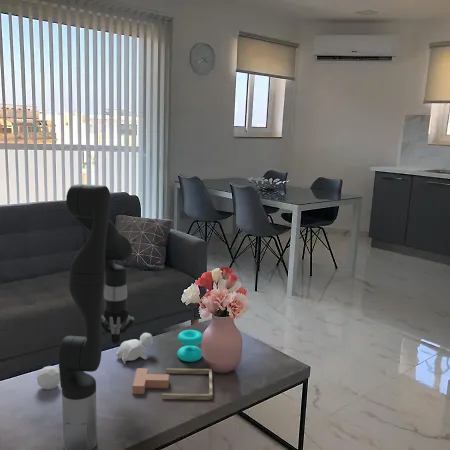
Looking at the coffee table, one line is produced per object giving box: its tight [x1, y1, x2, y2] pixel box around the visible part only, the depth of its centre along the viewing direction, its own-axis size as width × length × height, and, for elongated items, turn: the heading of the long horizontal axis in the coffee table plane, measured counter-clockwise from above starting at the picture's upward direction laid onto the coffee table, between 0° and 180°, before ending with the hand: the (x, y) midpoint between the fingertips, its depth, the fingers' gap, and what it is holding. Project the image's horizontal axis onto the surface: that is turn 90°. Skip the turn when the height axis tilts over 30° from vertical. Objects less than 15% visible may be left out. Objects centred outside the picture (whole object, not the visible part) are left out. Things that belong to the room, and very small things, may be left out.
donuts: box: [177, 329, 203, 363], centre depth 193 cm, size 10×10×10 cm
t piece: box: [131, 367, 170, 395], centre depth 173 cm, size 12×12×3 cm
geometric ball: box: [36, 365, 60, 391], centre depth 168 cm, size 8×8×8 cm
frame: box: [161, 367, 214, 401], centre depth 174 cm, size 18×17×2 cm
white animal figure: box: [115, 332, 154, 365], centre depth 192 cm, size 8×8×15 cm
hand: (116, 342), depth 169 cm, fingers closed
